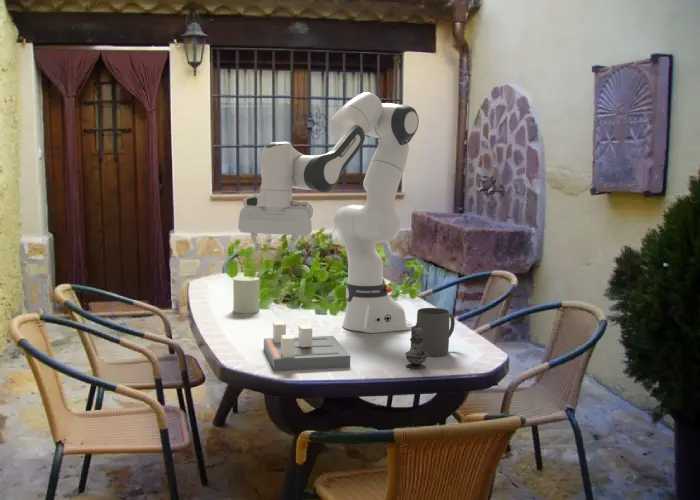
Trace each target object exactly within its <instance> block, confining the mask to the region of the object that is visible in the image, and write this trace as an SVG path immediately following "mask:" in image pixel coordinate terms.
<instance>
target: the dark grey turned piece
mask: <svg viewBox="0 0 700 500" xmlns="http://www.w3.org/2000/svg"><path fill="white" fill-rule="evenodd" d="M410 331H411V334H410V338H409V341H410V348H409V350H408V351H406V352H405V353H404V354H405V357H406V360H407V361H408V364H406V365H405V368H406V367H407V368H406V369H408V368H409V369H408V370H412V369H413V371H414V370H415V371H418V370H419V371H420V370H425V369H427V366H426V365H425V364H423V363H424V362H425V361H426V359H427V357H428V356H427V355H428V354H427V353H426V352H424V351H423V349H422V341H423V340H424V339H422V327H421V326H419V325H418V323H417V322H416V323H415V325H412V329H411V330H410Z"/></svg>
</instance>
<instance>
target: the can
mask: <svg viewBox="0 0 700 500" xmlns="http://www.w3.org/2000/svg"><path fill="white" fill-rule="evenodd" d="M232 283H233V309H232V311H233V313H235V314H241V315H242V314H256V313H259V312H260V277H257V276H236V277H233V278H232Z"/></svg>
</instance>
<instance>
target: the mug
mask: <svg viewBox="0 0 700 500" xmlns="http://www.w3.org/2000/svg"><path fill="white" fill-rule="evenodd" d="M416 313H417V315H416V323H418V325H419V326H421V327H422V339H424V340H423V341H422V349H423V351H424V352H426V353H427V354H428V355H427V356H426V357H435V358H439V357H444V356H447V355H448V354H449V347H450V346H449V345H450V338H451V336H452V334H453V332H454V330H455V325H456V324H455V323H456V321H455V316H454V314H452V313H450V311H449V310H447V309H445V308H440V307H425V308H418V309H417V312H416Z"/></svg>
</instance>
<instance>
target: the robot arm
mask: <svg viewBox="0 0 700 500" xmlns="http://www.w3.org/2000/svg"><path fill="white" fill-rule="evenodd" d="M419 120H420V119H419V115H418V113H417V110H416V109H415V108H414V107H412V106H410V105H407V104H397V103H391V102H385V103H382V100H381V99H380V98H379V96H377V95H376V94H375V93H372V92H368V91H367V92H362V93H360V94H358V95H356V96H354V97H352V98H351V99H350V100H349V101H347V102H346V103H344V105H342V106H341V107H340V108H339V109H338V110H337V111H336V112H335V113H334V115H333V116H332V117H331V120H329V131H330V134H331V136H332V139H334V141H335V142H336V143H335V145H334V146H333V147H332V148H331V150H330V151H329V152H327V153H324V154H317V155H315V154H314V155H313V154H311V155H308V154H307V155H306V154H303V153H301V152H299V151H298V150H297V149H296V148H294V147H293V145H292V143H291V142H289V141H283V140H282V141H273V142H269V143H266V144H265V145H264V147H263V149H262V154H261V160H260V176H261V184H260V187H259V189H260V192H259V194H254V195H251V196H247V197H245V198H243V200H242V205H243V207H242V208H241V209H240V212H239V215H238V223H237V224H238V230H239V232H240V233H241V234H242V233H244V234H250V238H251V240H252V242H253V243H254V250H256V251H260V250H262V242H259V240H258V238H257V237H258V236H259V234H261V235H263V234H264V235H265V234H266V235H282V236H283V235H284V236H291V239H292V240H293V241H292V243H291V244H288V245H287V252H295V245H296V244H297V242H298V240H300V238H299V237H300V236H302V237H303V236H304V237H307V236H310V235H311V234H312V230H313V229H312V228H313V227H312V217H313V214H314V213H313V212H314V210H313V209H314V208H313V206H312V205H311V204H310V203H308V202H307V201H302V202H301V201H295V200H293V189H297V190H309V191H316V192H320V193H327V192H330V191H331V190H333V189H334V188H335V187H336V186H337V184H338V182H339V181H340V178H341V176H342V173H343V172H344V171H345V169H346V167H347V166H348V165H349V163H350V162H351V161H352V160H353V159H354V157H355V156H356V155H357V153H358V152H359V151H360V149H361V148H362V146H363V144H364V143H365V138H366V137H368V138H375V139H377V141H378V144H377V147H376V148H375V150H374V153H373V155H372V157H371V160H370V163H369V165H368V168H367V171H366V173H365V176H364V179H363V181H362V182H363V183H362V185H363V189H364V190H365V191H366V201H365V205H362V204H350V205H347V206H342V207H341V208H339V209H338V210H337V211H336V213H335V215H334V220H333V224H334V228H335V229H336V232H337V233H338V235H339V236H340V237H341V239H342V242H343V245H344V247H345V252H346V256H347V283H346V288H345V298H346V299H345V300H346V307H345V308H346V309H345V315H344V319H343V322H342V325H341V326H342V328H344V329H347V330H350V331H356V332H363V333H367V334H376V333H378V334H379V333H388V332H397V331H398V332H399V331H411V329H412V327H413V323H412V322H411V321H410V320H407V319H406V312H405V309H404V307H403V306H402V305H401V304H400V303H399V302H397V300H395V299H394V298H392V297H391V296H390V295H389V294H391V293H392V292H393V290H394V289H393V287H392V286H390V285H387V284H385V283H383V279H384V278H383V274H384V267H383V266H384V261H383V258H382V256H381V255H380V254H379V252H378V251H377V249H376V247H375V243H385V242H391V241H394V240H395V239H396V238H397V236H398V235H399V233H400V229H401V221H400V217H399V216H398V213H397V211H396V197H397V196H396V195H397V192H398V189H399V186H400V183H401V180H402V178H403V174H404V171H405V168H406V165H407V161H408V157H409V150H410V147H409V142H411V140H412V139H413V137H414V135H416V132H417V131H418V128H419Z"/></svg>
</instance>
